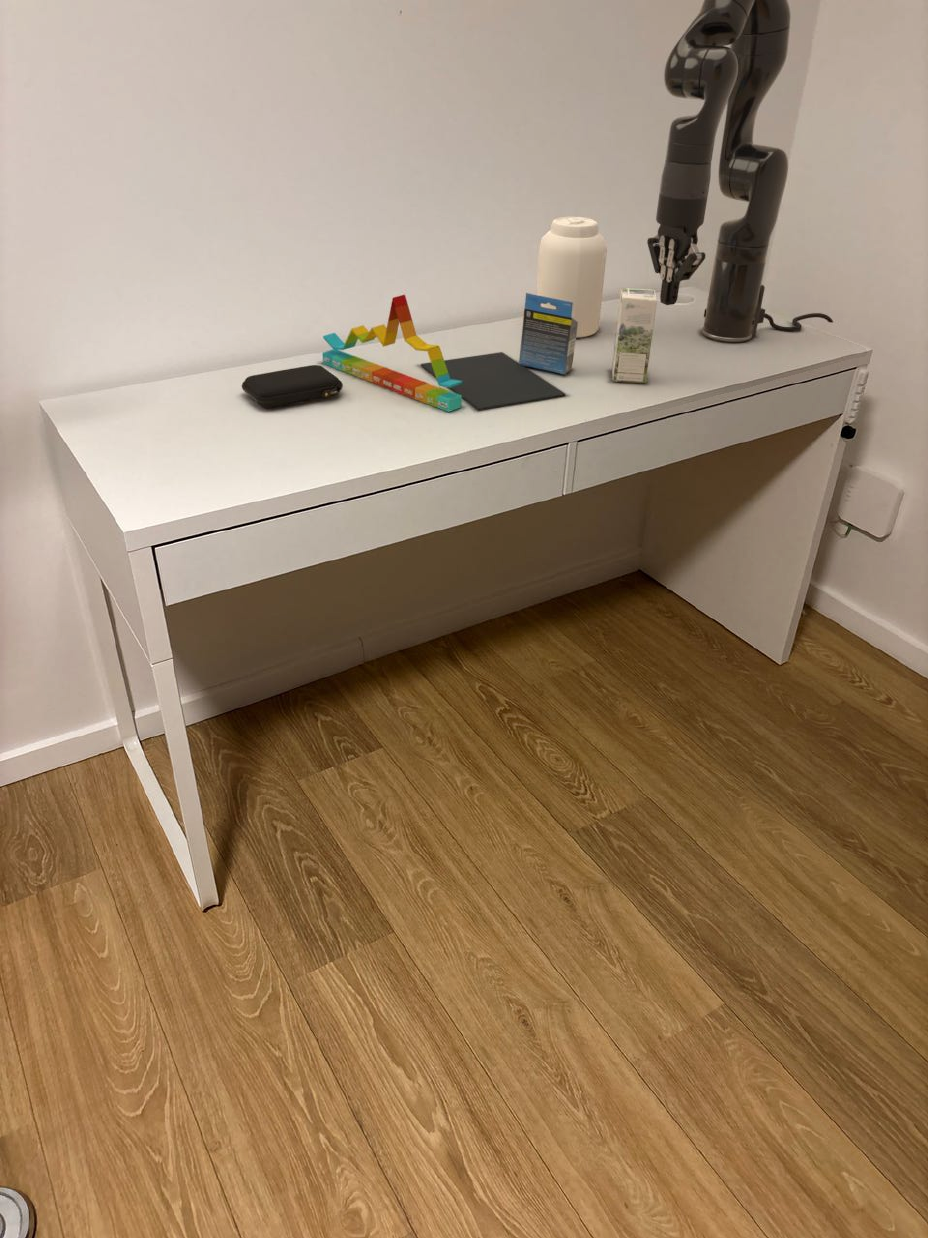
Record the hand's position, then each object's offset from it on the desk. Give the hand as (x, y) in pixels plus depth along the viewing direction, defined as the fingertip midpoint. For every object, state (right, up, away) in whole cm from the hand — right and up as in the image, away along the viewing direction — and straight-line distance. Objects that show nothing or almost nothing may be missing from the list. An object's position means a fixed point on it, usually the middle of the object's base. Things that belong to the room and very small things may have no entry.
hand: (667, 303), depth 162 cm
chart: (-47, -14, -1) cm, 49 cm away
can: (-14, +3, +26) cm, 30 cm away
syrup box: (-6, -12, +5) cm, 14 cm away
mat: (-30, -12, +2) cm, 32 cm away
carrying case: (-61, -17, -6) cm, 64 cm away
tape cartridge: (-20, -9, +7) cm, 23 cm away
